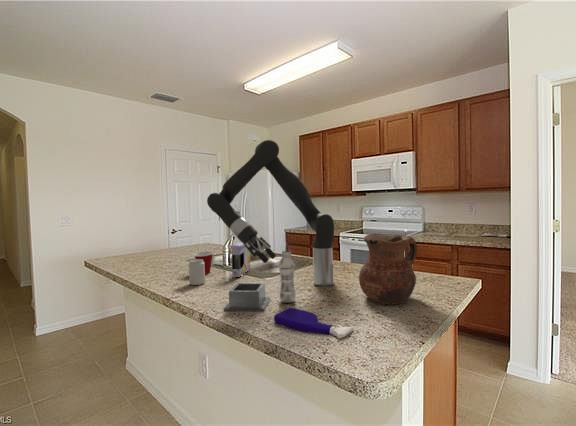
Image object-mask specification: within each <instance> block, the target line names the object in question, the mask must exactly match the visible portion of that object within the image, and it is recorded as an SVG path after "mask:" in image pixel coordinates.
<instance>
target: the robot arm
mask: <svg viewBox="0 0 576 426" xmlns="http://www.w3.org/2000/svg"><path fill="white" fill-rule="evenodd" d="M279 153H280V147H279V145H278V143H277V142H276V141H274V140H272V139H265V140H263V141H261V142H260V143H259V144H257V145H256V147H255V149H254V153H253V155H252V156H251V158H250V159H249V160H248V161H247V162H246V163H245V164H244V165H242V166H241V167H240V168H239V169H238V170H236V172H235V173H233V174H232V175H231V176H230V177H229V178H228V180H226V181H225V182H224V183H223V185H222V190H221V191H220V192H219V193H218V192H213V193H211V194H209V195H208V196H207V199H206V202H207V203H206V204H207V206H208V207H209V209H210V210H211V211H212V212H213V213H215V214H216V215H217V216H218V217H219V218H220V219H221V220H222V222H223V223H224V224H225V226H226V227H228V229H229V230H230V232H232V233H233V235H234V236H235V237H236V238H237V239H238V240H239V242H242V243H243V244H244V245H245V247H246V248H247V249H248V250H249V251H250V255H252V256H253V257H257V258H259V259H260V260H261V261H262V262H263V264H266V263H268V262H269V261H270V259H272V260H274V258H275V257H277V254H276V253H275V252H274V251H273V250H272V249H271V247H272V246H271V245H270V244H269V243H268V242H267V240H265V239H264V238H263V237H262V236H260V237H258V236H257V235H258V234H259V233H258V231H257V230H256V229H255V228H254V226H253V225H252V224H250V222H249V221H247V220H246V219H245V218H244V217H243V216H242V215H241V214H240V213H239V212H238V211H237V210H236V209H235V208H234V207H233V206H232V205H231V203H232V202H233V201H234V199H235V197H236V196H237V195H238V194H239V193H240V192H241V191H242V190H243V189H244V188H245V187H246V186H247V184H249V182H250V181H251V180H253V178H254V177H255V176H256V175H257V174H258V173H259V172H260V171H261V170H262V169H263V168H265V169H266V170H267V171H268V172H269V173H270V174H271V176H272V177H273V178H274V180H275V181H276V183H277V184H278V186H280V188H281V189H282V191H283V192H284V194H285V195H286V196H287V198H289V200H290V201H291V202H292V203H293V205H294V206H295V207H296V208H297V209H298V211H300V213H301V214H302V215H303V217H304V218H305V220H306V221H307V224H308V225H309V227H310V228H311V230H313V231H314V232H315V240H313V241H312V260H313V261H312V262H313V265H312V266H313V270H312V271H313V284H314V285H317V286H322V287H323V286H325V287H326V286H330V285H331V286H332V285H334V263H333V259H334V257H333V243H334V240H335V222H334V218H333V217H332V216H331V215H330V214H327V213H322V212H321V211H320V210H319V209H318V208H317V207H316V206H315V204H314V203H313V201H312V199H311V196H310V193H309V189H307V187H306V185H305V184H304V183H303V182H302V180H301V179H300V178H299V177H298V176H297V175H296V174H295V173H294V172H293V171H292V170H290V169H289V168H288V167H286V166H285V165H284V163H283V162H282V161H281V160H280V158H279ZM264 253H266V254H267V255H268V256H267V255H266V254H264ZM269 258H270V259H269Z"/></svg>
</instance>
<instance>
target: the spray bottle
mask: <svg viewBox="0 0 576 426" xmlns="http://www.w3.org/2000/svg"><path fill="white" fill-rule="evenodd" d="M273 320H274V323H275V324H277V325H280V326H282V327H285V328H288V329H291V330H294V331H299V332H304V333H313V334H314V333H315V334H324V335H325V334H326V335H329V334H331V335H332V336H336V337H337V339H338V340H339V339H342V338H344V337H346V336H347V335H349V334H350V333H352V332H353V330H354V327H353V326H342V325H340V324H336V326H337V327H335V326H334V325H332V324H326V323H322V322H319V318H318V316H317V315H316V314H315V313H314V312H311V311H307V310H303V309H300V308H296V307H295V308H293V307H288V308H286V309H284V310H282V311H280V312H278V313H276V314H275V315H274V319H273Z"/></svg>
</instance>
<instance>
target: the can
mask: <svg viewBox="0 0 576 426" xmlns="http://www.w3.org/2000/svg"><path fill="white" fill-rule="evenodd" d="M188 274H189V279H188V280H189V285H191V286H193V285H198V286H202V285H204V283H206V275H205V263H204V262H203V260H202V259H196V258H195V259H190V260H189V263H188ZM201 284H202V285H201Z"/></svg>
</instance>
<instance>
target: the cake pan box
mask: <svg viewBox="0 0 576 426" xmlns="http://www.w3.org/2000/svg"><path fill="white" fill-rule="evenodd" d="M250 270H251V252H250V251H249V250H248V249H247V248H246V247H245V245H244V244H243V243H242V242H241V241H239V242H236V243H235V244H232V245H231V273H232V274H231V275H232V277H240V276H241V275H242V274H244V273H245V272H247V271H248V272H250ZM248 272H247V273H248ZM245 274H246V273H245ZM245 274H244V275H245ZM240 278H241V277H240Z"/></svg>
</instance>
